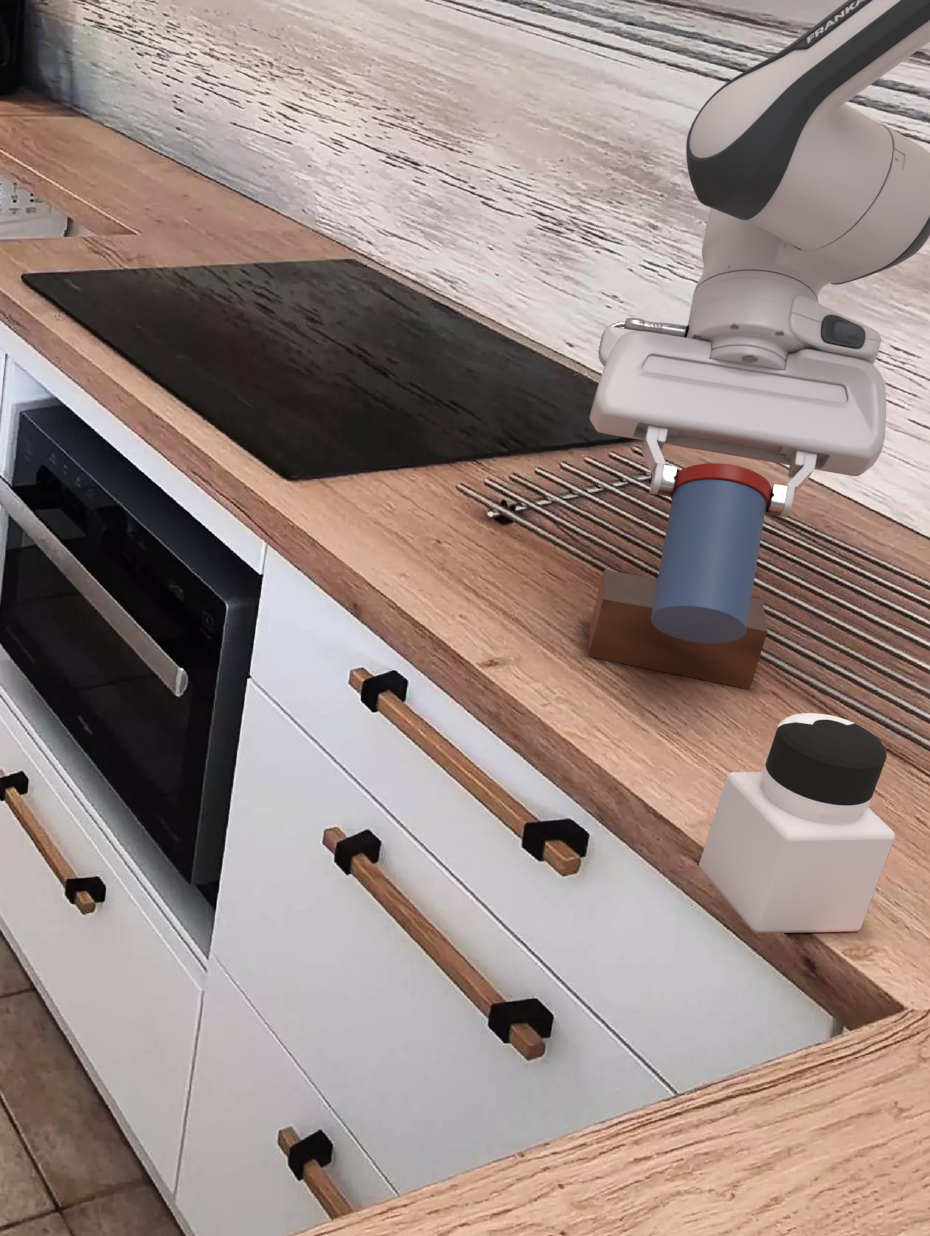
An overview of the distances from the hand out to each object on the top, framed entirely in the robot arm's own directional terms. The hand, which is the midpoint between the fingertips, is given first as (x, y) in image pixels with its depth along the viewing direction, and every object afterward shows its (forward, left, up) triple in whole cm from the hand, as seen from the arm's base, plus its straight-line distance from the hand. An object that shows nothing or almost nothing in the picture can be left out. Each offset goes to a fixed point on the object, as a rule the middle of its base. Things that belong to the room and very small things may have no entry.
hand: (719, 502), depth 126 cm
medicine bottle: (-6, +29, -15) cm, 33 cm away
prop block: (0, -4, -14) cm, 15 cm away
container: (0, +3, -3) cm, 4 cm away
